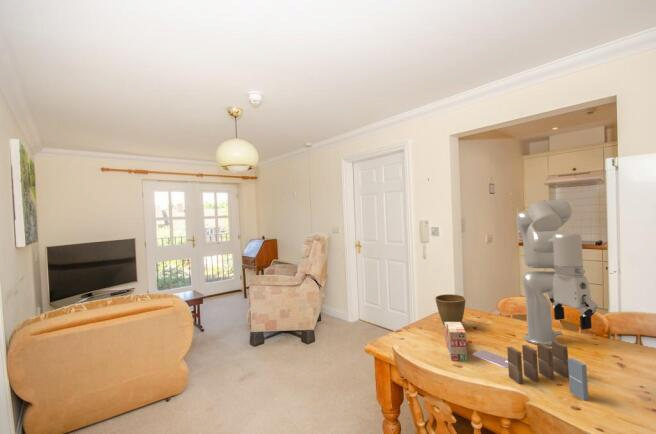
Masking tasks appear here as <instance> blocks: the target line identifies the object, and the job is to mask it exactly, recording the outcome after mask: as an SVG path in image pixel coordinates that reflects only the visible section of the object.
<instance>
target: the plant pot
mask: <svg viewBox="0 0 656 434" xmlns="http://www.w3.org/2000/svg"><path fill="white" fill-rule="evenodd" d="M434 297H435V298H434V299H435V303H436V308H437V311H438V313H439V317H440V319H441V322H442V324H443V325H444V322H461V324H463V323H462V322H463V318H464V315H465V313H464V312H465V308H466V307H465V306H466V297H465V296H464V295H463V296H462V295H460V294H452V293H451V294H447V293H446V294H439V295H437V296H434Z"/></svg>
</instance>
